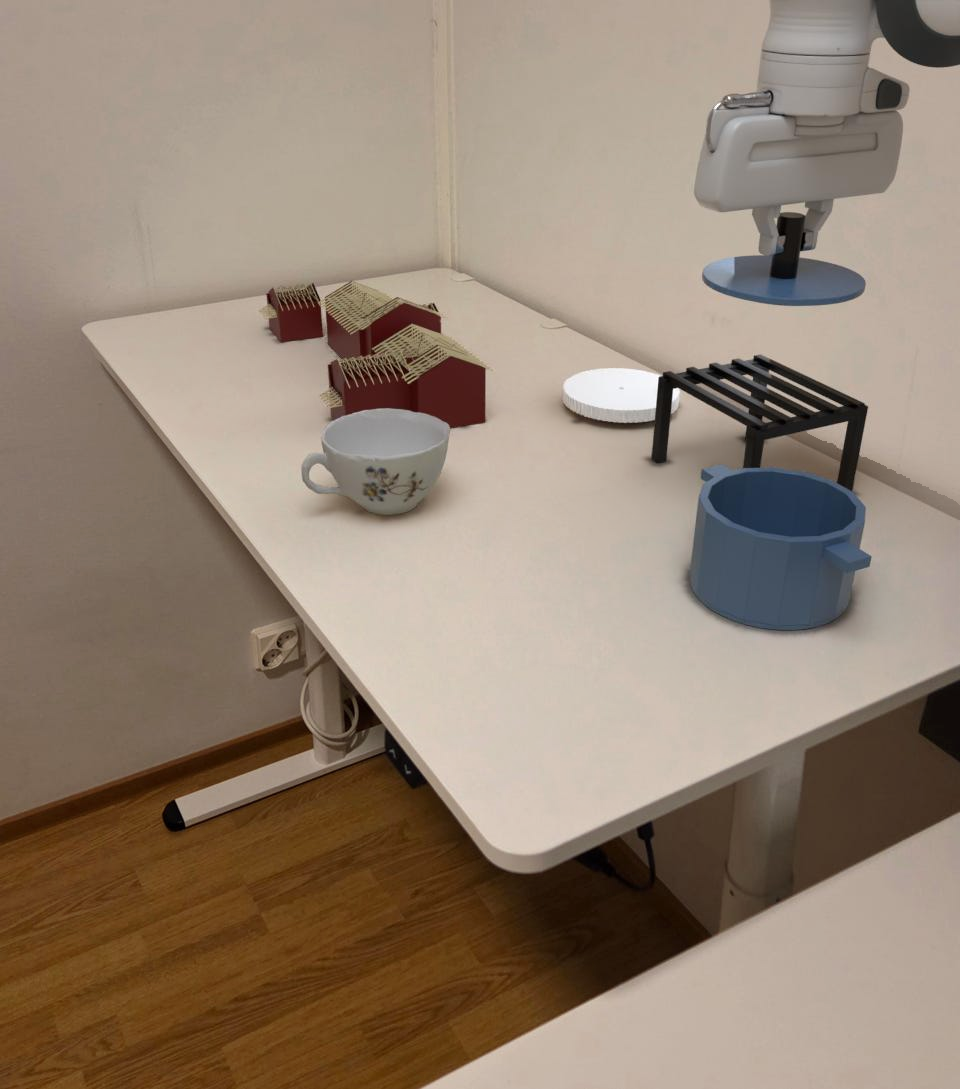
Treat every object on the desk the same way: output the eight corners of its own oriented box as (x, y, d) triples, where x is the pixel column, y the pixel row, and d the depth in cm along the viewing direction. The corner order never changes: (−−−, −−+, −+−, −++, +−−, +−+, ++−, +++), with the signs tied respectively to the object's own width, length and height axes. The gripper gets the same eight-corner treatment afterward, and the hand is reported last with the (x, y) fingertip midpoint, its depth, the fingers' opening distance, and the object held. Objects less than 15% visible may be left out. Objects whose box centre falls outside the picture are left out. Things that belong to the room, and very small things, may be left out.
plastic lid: (579, 435, 126) (580, 414, 125) (549, 390, 138) (550, 371, 137) (695, 426, 129) (697, 405, 128) (655, 383, 141) (657, 364, 140)
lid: (789, 260, 110) (799, 191, 107) (898, 299, 99) (913, 223, 96) (670, 278, 105) (676, 206, 101) (771, 321, 93) (782, 242, 90)
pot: (759, 525, 107) (771, 445, 103) (905, 622, 93) (926, 533, 88) (643, 556, 102) (650, 473, 98) (778, 663, 87) (793, 571, 83)
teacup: (423, 467, 119) (421, 397, 115) (471, 517, 109) (471, 442, 105) (287, 493, 113) (280, 421, 109) (324, 547, 103) (318, 470, 99)
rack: (752, 436, 126) (764, 353, 121) (852, 493, 114) (869, 402, 109) (651, 459, 121) (658, 372, 116) (743, 521, 108) (756, 426, 103)
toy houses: (506, 418, 130) (508, 335, 125) (339, 446, 123) (334, 359, 118) (381, 312, 166) (379, 244, 161) (247, 329, 159) (239, 258, 154)
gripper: (735, 100, 87) (716, 274, 94) (925, 86, 95) (894, 247, 102) (687, 90, 92) (672, 256, 99) (871, 78, 100) (846, 232, 107)
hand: (786, 251), depth 100 cm, fingers closed on lid, 2 cm apart
